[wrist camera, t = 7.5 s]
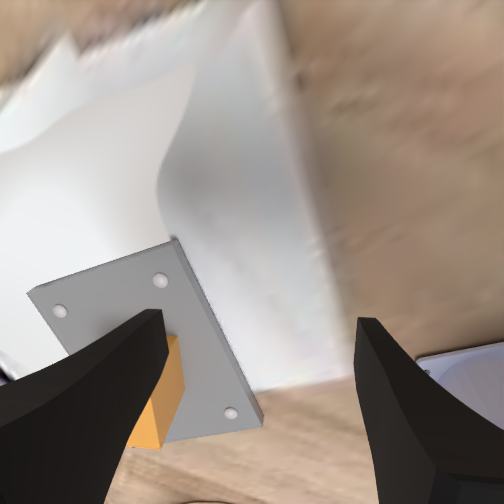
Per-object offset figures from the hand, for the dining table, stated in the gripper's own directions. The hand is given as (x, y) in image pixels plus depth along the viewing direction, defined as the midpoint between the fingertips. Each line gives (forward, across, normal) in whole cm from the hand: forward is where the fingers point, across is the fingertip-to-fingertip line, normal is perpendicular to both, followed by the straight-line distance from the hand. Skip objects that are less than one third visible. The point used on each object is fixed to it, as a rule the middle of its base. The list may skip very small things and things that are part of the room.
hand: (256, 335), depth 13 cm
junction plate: (+10, +10, +10) cm, 17 cm away
